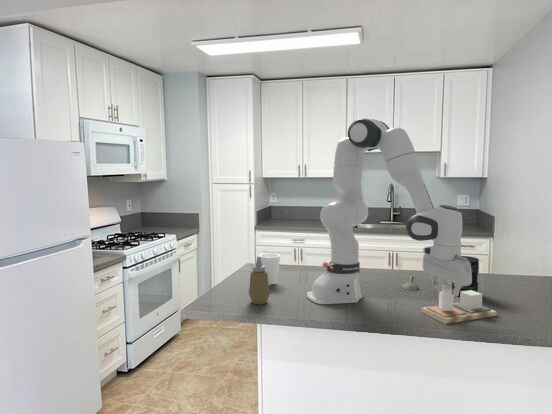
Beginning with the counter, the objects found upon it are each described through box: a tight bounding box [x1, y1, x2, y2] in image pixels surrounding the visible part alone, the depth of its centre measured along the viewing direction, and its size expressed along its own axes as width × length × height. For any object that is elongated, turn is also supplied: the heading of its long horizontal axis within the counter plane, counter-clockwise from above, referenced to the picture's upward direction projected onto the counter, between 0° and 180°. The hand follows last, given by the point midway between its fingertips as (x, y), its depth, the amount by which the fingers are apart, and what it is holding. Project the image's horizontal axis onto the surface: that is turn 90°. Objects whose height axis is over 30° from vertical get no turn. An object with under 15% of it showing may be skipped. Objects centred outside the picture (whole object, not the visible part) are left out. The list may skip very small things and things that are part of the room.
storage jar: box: [451, 255, 480, 298], centre depth 164 cm, size 10×10×15 cm
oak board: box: [420, 301, 497, 325], centre depth 142 cm, size 22×12×2 cm, turn 109°
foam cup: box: [258, 252, 281, 285], centre depth 182 cm, size 10×9×13 cm
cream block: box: [459, 290, 483, 309], centre depth 143 cm, size 5×5×5 cm
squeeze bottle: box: [248, 256, 271, 305], centre depth 155 cm, size 8×8×18 cm
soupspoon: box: [401, 274, 419, 292], centre depth 180 cm, size 22×3×7 cm
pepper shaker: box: [438, 281, 455, 312], centre depth 140 cm, size 4×4×10 cm
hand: (444, 291), depth 140 cm, fingers open, 8 cm apart
